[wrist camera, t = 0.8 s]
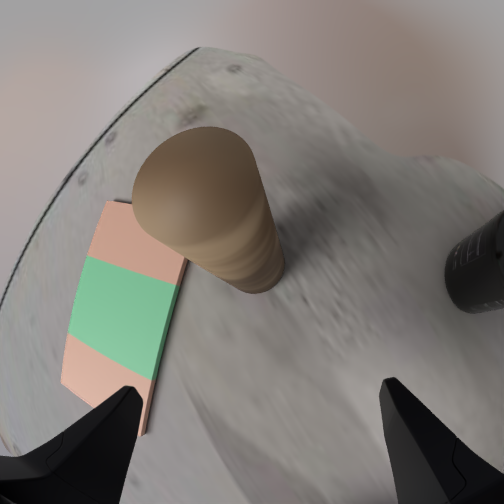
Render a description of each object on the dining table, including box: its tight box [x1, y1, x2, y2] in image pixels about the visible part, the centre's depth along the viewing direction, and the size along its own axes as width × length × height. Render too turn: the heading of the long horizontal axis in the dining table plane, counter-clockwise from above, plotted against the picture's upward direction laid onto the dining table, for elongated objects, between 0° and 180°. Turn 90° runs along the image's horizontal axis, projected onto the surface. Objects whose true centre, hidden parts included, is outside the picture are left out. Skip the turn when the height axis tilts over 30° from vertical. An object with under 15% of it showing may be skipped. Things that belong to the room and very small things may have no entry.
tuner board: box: [61, 201, 188, 437], centre depth 24 cm, size 22×12×1 cm, turn 165°
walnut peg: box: [132, 127, 285, 294], centre depth 16 cm, size 5×5×14 cm
